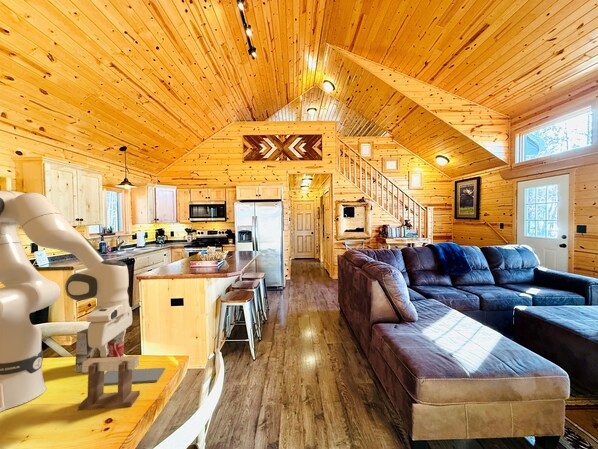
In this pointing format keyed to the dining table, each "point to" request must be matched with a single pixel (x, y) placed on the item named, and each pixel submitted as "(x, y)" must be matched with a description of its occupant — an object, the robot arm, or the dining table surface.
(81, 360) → the coffee box
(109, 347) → the beverage can
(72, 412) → the dining table surface
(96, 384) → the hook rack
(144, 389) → the dining table surface
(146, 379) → the rubber mat
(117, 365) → the beige wooden bar
